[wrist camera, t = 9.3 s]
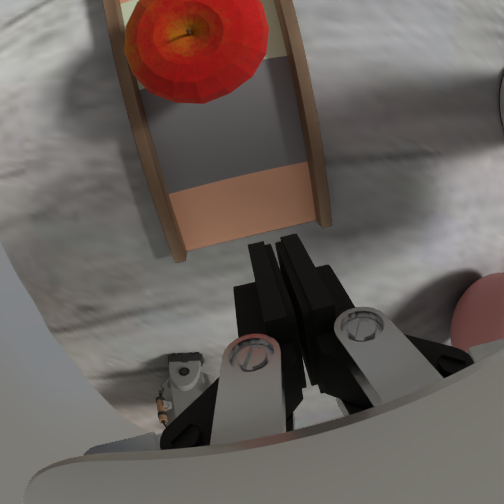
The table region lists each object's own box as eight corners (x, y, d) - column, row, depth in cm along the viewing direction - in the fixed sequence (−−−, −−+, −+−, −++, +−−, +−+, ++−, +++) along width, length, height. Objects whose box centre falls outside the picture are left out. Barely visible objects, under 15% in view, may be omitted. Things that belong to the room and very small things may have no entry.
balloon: (421, 365, 45) (461, 432, 32) (439, 270, 36) (510, 344, 22) (483, 335, 45) (526, 389, 32) (508, 243, 36) (574, 296, 22)
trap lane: (262, -74, 16) (265, -84, 14) (324, 217, 31) (332, 225, 29) (103, -38, 16) (96, -46, 14) (177, 252, 31) (175, 263, 29)
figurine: (249, 390, 42) (264, 483, 29) (170, 394, 41) (165, 487, 28) (247, 346, 38) (265, 453, 24) (156, 351, 37) (143, 457, 23)
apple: (182, -23, 18) (150, -68, 8) (278, 18, 21) (315, -4, 11) (134, 68, 22) (72, 85, 13) (226, 105, 25) (224, 144, 16)
